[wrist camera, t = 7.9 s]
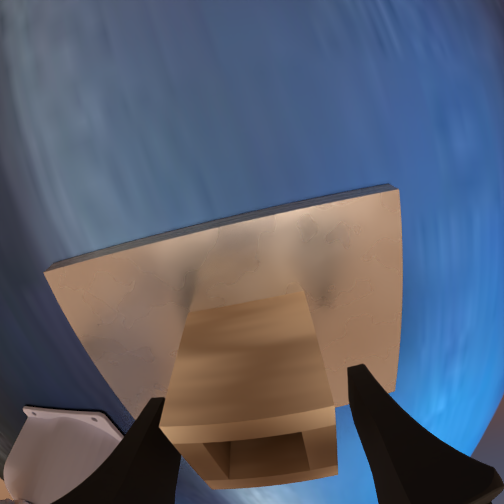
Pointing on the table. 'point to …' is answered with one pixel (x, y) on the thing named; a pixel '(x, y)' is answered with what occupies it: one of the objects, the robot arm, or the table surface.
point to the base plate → (244, 287)
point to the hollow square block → (252, 396)
